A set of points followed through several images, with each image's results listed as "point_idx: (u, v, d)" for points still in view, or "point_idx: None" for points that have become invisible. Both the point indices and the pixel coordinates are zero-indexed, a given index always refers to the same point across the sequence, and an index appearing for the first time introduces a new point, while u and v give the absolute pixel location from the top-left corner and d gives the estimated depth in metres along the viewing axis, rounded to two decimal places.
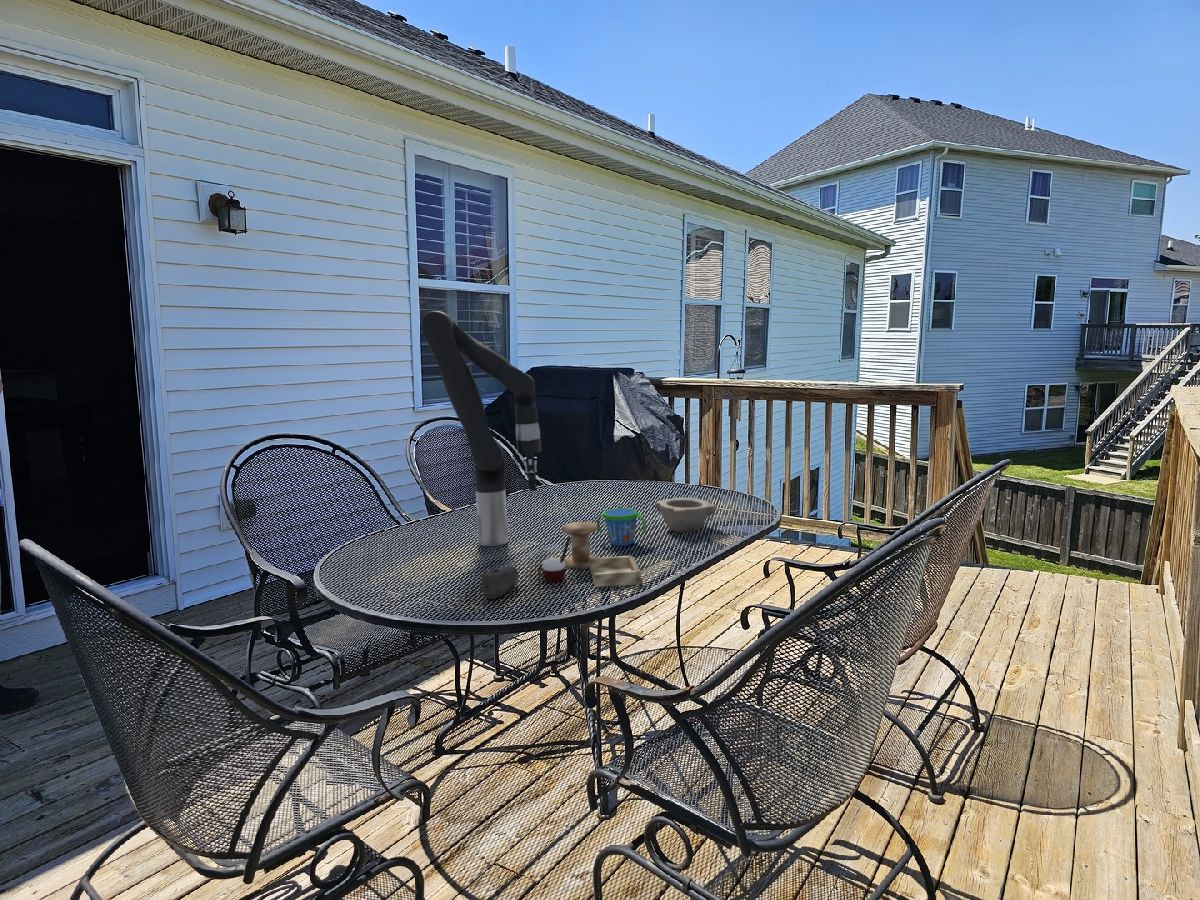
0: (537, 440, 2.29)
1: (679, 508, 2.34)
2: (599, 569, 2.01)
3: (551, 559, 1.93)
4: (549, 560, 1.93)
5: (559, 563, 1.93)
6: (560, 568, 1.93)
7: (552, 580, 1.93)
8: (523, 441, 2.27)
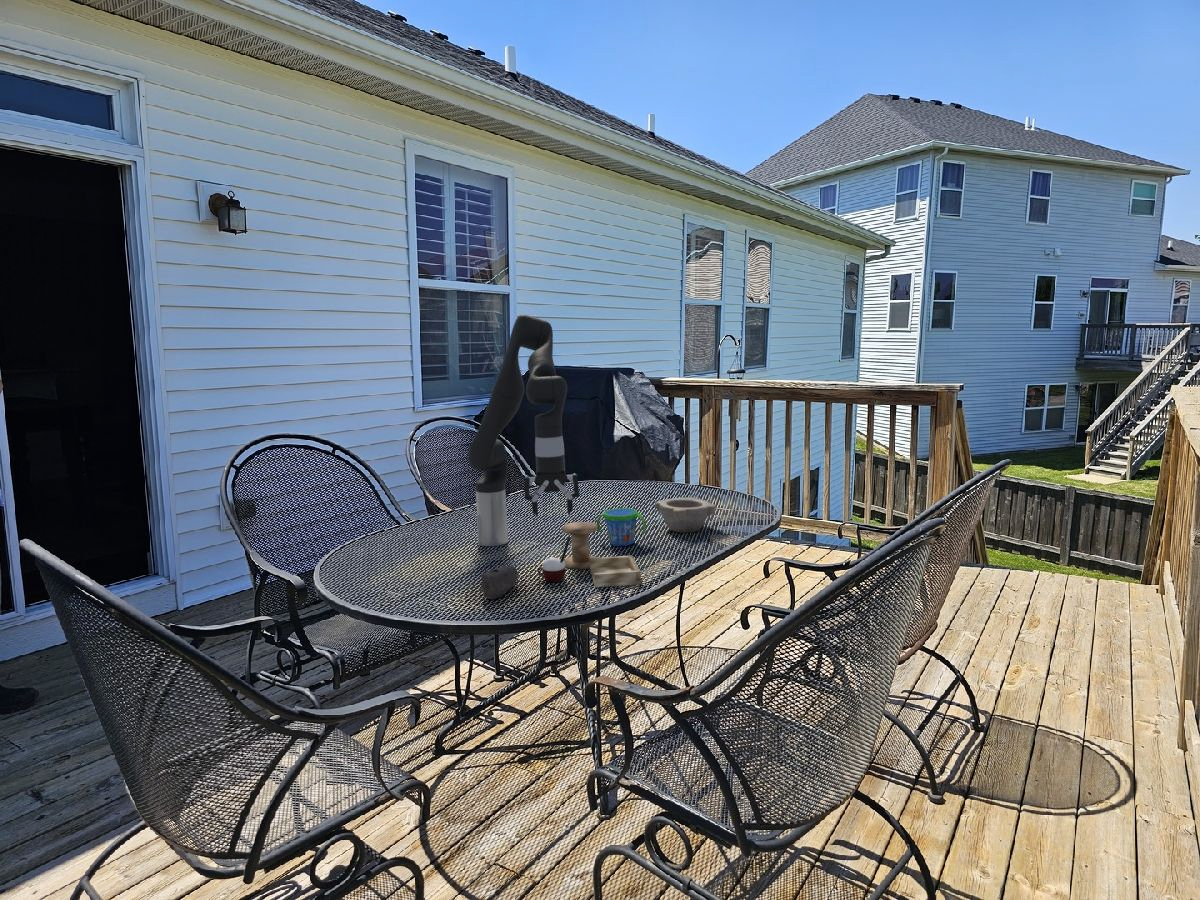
0: None
1: (679, 508, 2.34)
2: (599, 569, 2.01)
3: (551, 559, 1.93)
4: (549, 560, 1.93)
5: (559, 563, 1.93)
6: (560, 568, 1.93)
7: (552, 580, 1.93)
8: (563, 456, 1.90)
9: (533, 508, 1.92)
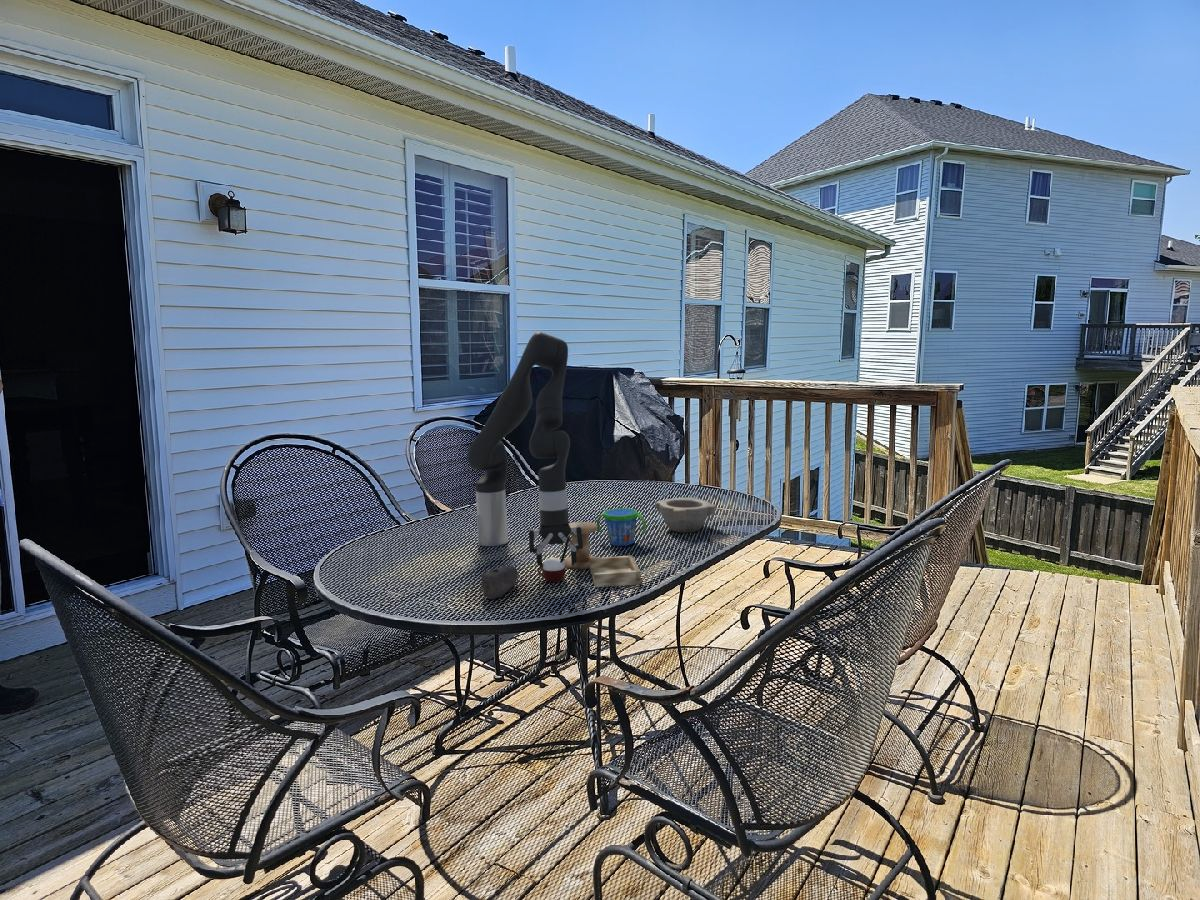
0: None
1: (679, 508, 2.34)
2: (599, 569, 2.01)
3: (551, 559, 1.93)
4: (549, 560, 1.93)
5: (559, 563, 1.93)
6: (560, 568, 1.93)
7: (552, 580, 1.93)
8: (567, 509, 1.92)
9: (538, 560, 1.94)
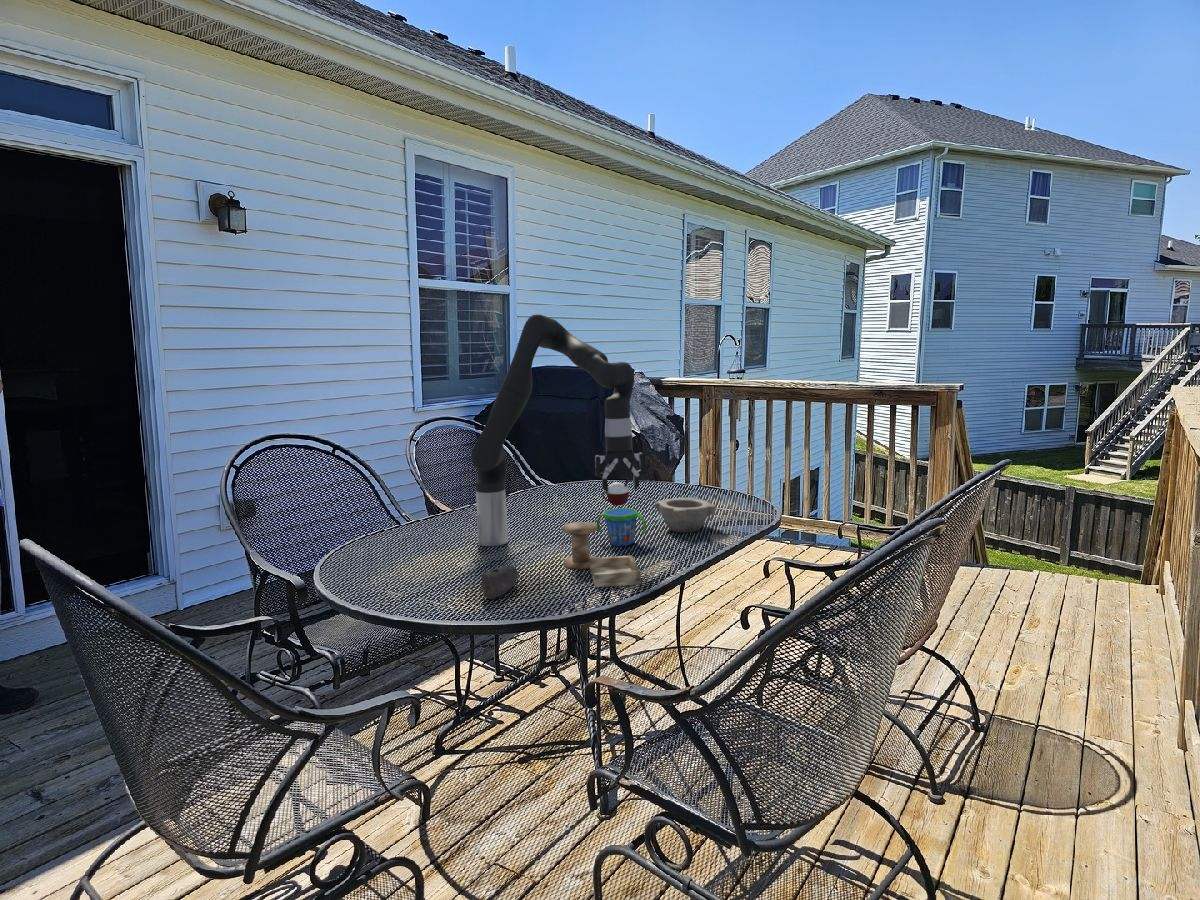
0: None
1: (679, 508, 2.34)
2: (599, 569, 2.01)
3: (616, 483, 2.07)
4: (614, 484, 2.07)
5: (623, 487, 2.06)
6: (624, 491, 2.06)
7: (617, 503, 2.07)
8: (631, 436, 2.05)
9: (603, 485, 2.07)
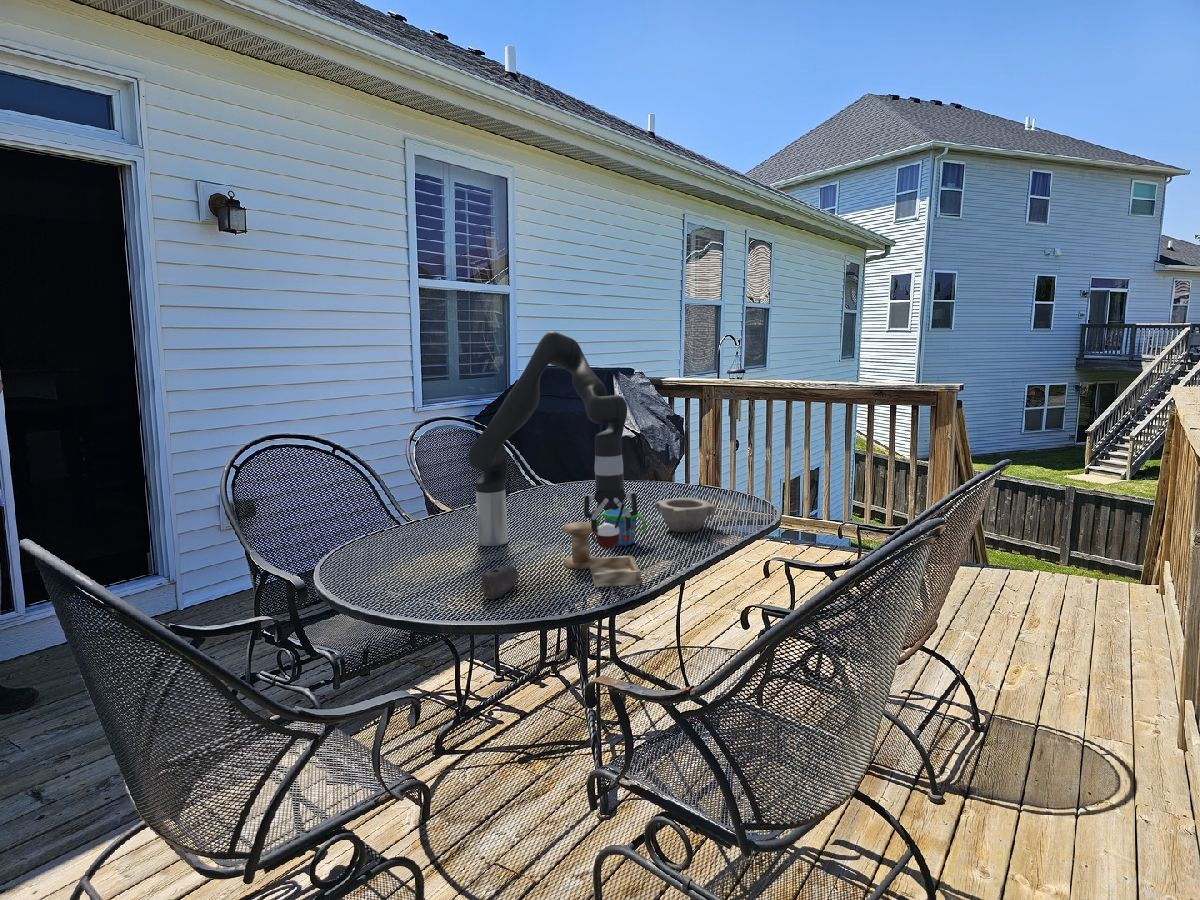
0: None
1: (679, 508, 2.34)
2: (599, 569, 2.01)
3: (606, 524, 1.93)
4: (604, 525, 1.93)
5: (614, 528, 1.93)
6: (615, 533, 1.93)
7: (606, 545, 1.94)
8: (622, 475, 1.92)
9: (592, 526, 1.94)
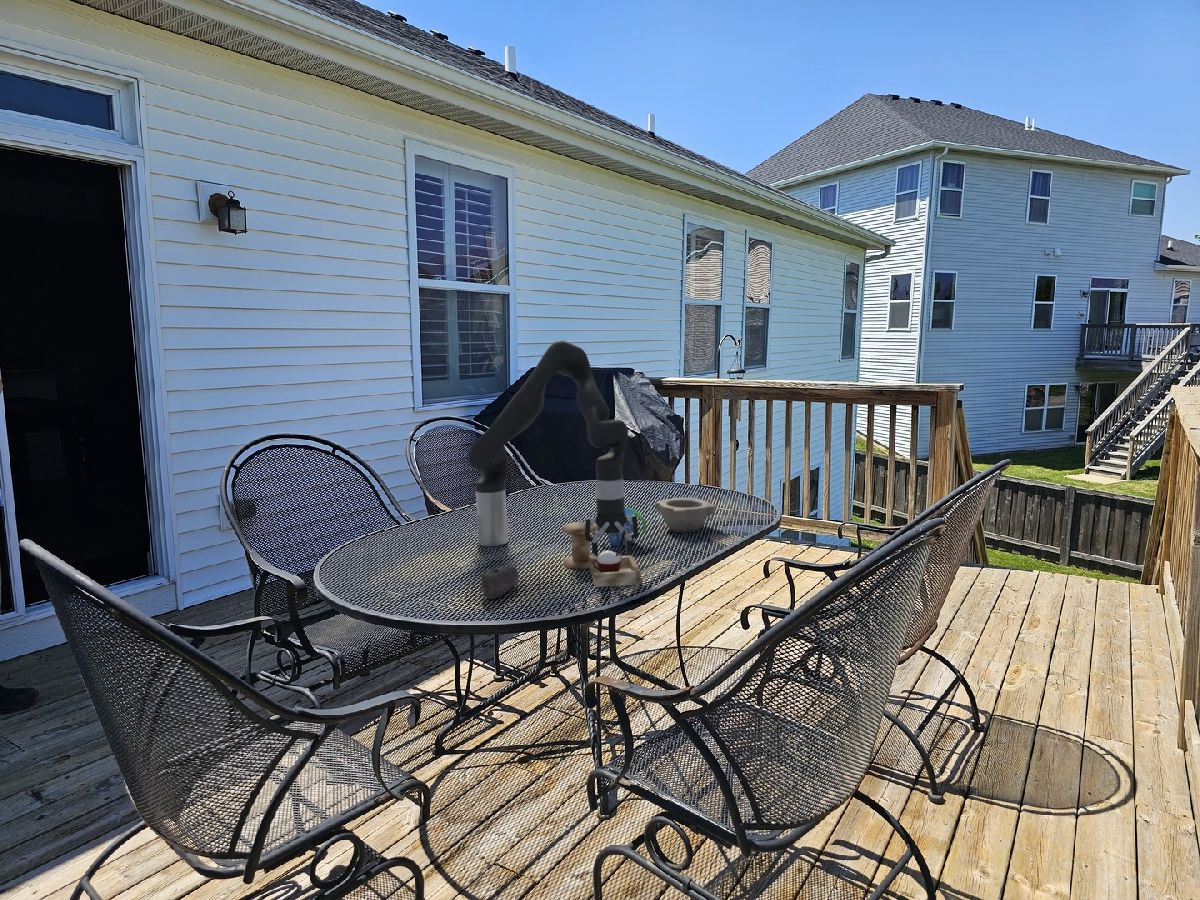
0: None
1: (679, 508, 2.34)
2: None
3: (607, 552, 1.95)
4: (605, 553, 1.95)
5: (615, 556, 1.94)
6: (616, 561, 1.94)
7: None
8: (623, 498, 1.93)
9: (593, 549, 1.95)
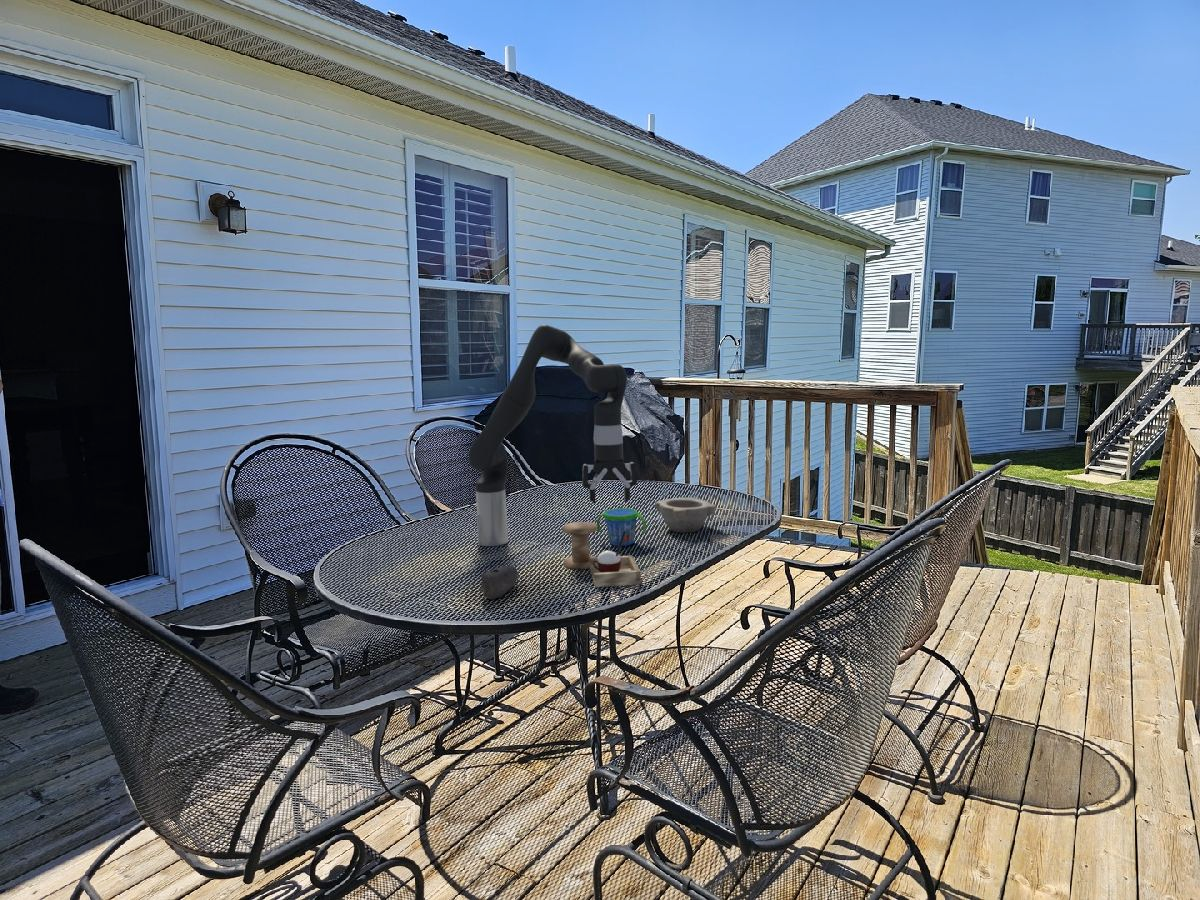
0: None
1: (679, 508, 2.34)
2: None
3: (607, 552, 1.95)
4: (605, 553, 1.95)
5: (615, 556, 1.94)
6: (616, 561, 1.94)
7: None
8: (622, 444, 1.90)
9: (591, 496, 1.93)
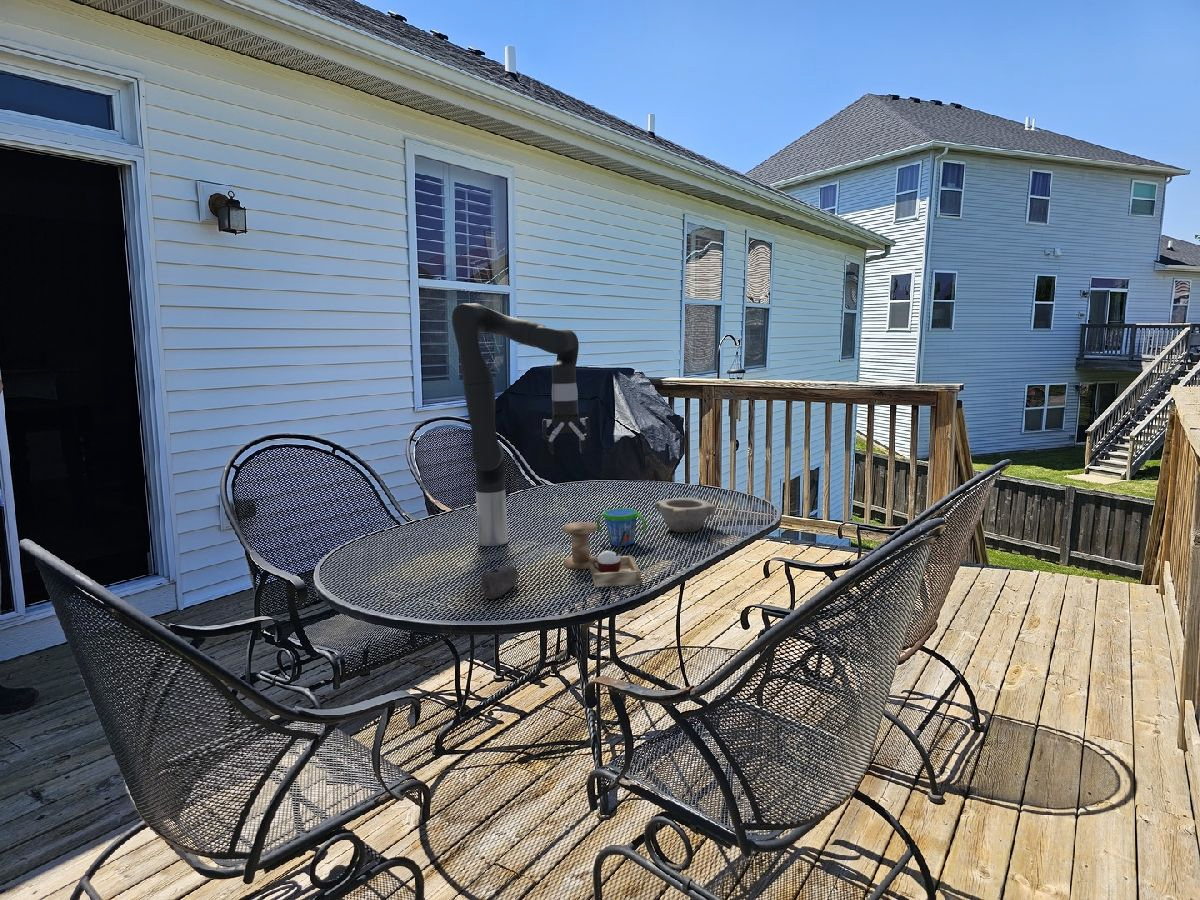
0: None
1: (679, 508, 2.34)
2: None
3: (607, 552, 1.95)
4: (605, 553, 1.95)
5: (615, 556, 1.94)
6: (616, 561, 1.94)
7: None
8: (576, 401, 2.14)
9: (550, 447, 2.16)
